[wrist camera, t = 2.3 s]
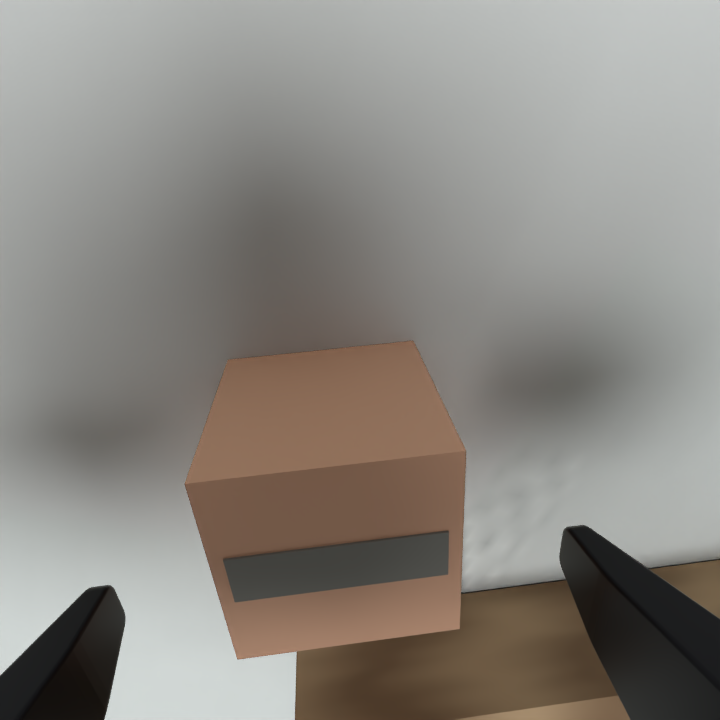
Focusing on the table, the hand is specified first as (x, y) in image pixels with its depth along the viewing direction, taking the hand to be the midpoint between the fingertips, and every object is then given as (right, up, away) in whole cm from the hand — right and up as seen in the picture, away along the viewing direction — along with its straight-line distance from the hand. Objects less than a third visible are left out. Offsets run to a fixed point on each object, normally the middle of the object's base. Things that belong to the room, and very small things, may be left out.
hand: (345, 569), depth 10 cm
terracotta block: (-1, +2, +5) cm, 5 cm away
